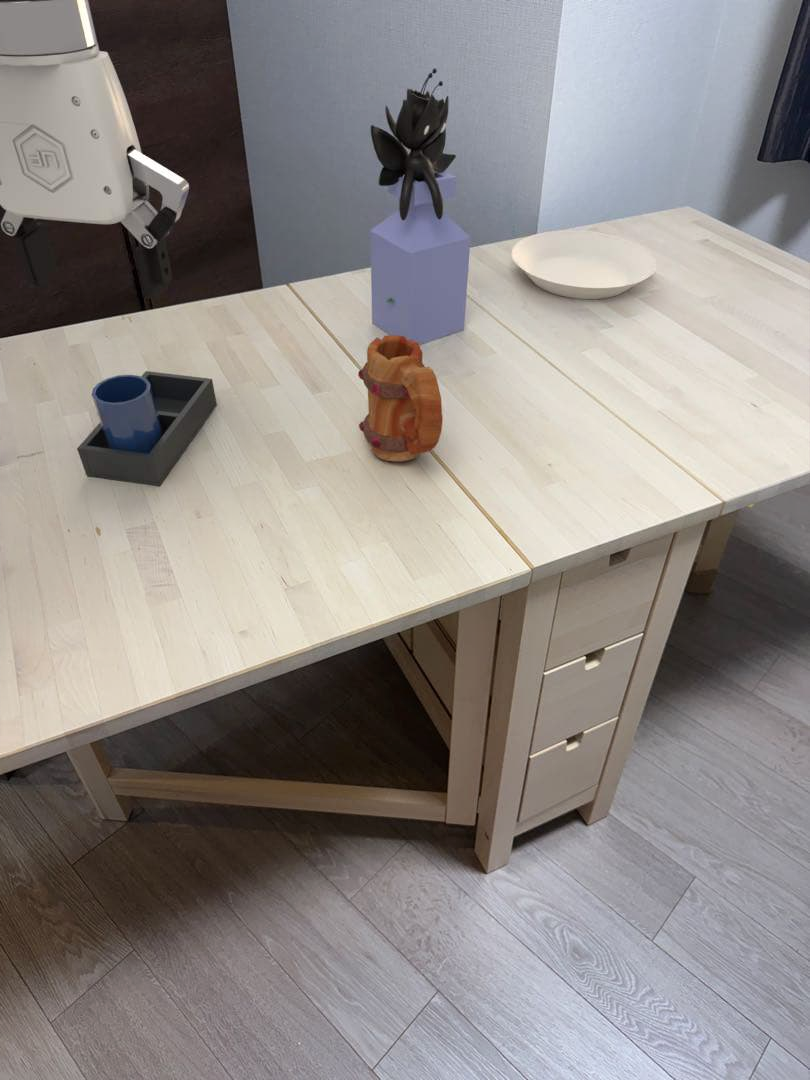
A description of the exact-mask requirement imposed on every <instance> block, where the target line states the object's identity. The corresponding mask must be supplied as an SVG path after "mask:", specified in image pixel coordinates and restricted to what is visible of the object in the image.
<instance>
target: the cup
mask: <svg viewBox="0 0 810 1080" xmlns="http://www.w3.org/2000/svg"><path fill="white" fill-rule="evenodd" d="M141 376H142V375H134V374H121V375H119V374H118V375H115V376H111V377H107V378H105V379H103V380H102V381H100V382H98V383H97V384H96V385H95V386H94V387H93V388H92V392H91V398H92V400H93V404H94V406H95V409H96V413H97V417H98V419H99V423H100V422H101V426H102V429H103V432H104V435H105V438H106V441H107V444H108V448H109V449H116V450H123V451H130V452H138V453H145V454H149V453H150V452H151V450H152V449H153V448H154V446H155V445H156V444H157V443H158V441H159V440H160V439H161V437H162V436H163V432H162V428H161V424H160V420H159V416H158V413H157V409H156V405H155V401H154V397H153V393H152V389H151V385H150V383H149V382H148V380H147V379H145V378H143V377H141Z"/></svg>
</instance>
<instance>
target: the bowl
mask: <svg viewBox="0 0 810 1080" xmlns="http://www.w3.org/2000/svg"><path fill="white" fill-rule="evenodd" d="M511 258H512V260H513V261H514V263H515V264H516V266H517V267H519V269H522V271H523V272H524V273H525V274H526V275H527V276H528V278H529V279H530V280H531V281H532V282H533V283H534V284H535V285H536V286H537V287H538V288H540V289H542V290H545V291H546V292H547V293H550V294H554V295H557V296H561V297H564V298H570V299H578V300H602V299H608V298H609V299H610V298H613V297H616V296H619V295H621V294H623V293H625V292H626V291H628V290H630V289H631V288H632V287H634V286H636V285H637V284H639V283H641V282H643V281H645V280H646V279H648V278H649V277H651V276H652V275H653V274H654V273H655V272H656V270H657V267H658V266H657V263H658V262H657V259H656V258H655V256H654V255H653V254H652V253H651V252H650V251H649V250H648V249H646V248H645V247H644V246H642V245H640V244H638V243H636V242H634V241H631V240H629V239H626V238H623V237H621V236H617V235H613V234H609V233H603V232H598V231H590V230H576V229H575V230H574V229H566V230H562V229H561V230H552V231H551V230H550V231H544V232H539V233H535V234H532V235H529V236H527V237H524V238H523V239H521V240H519V241H518V242H517V243H516V244H514V246H513V248H512V250H511Z"/></svg>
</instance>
